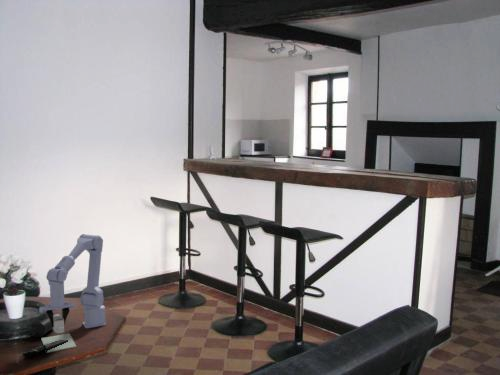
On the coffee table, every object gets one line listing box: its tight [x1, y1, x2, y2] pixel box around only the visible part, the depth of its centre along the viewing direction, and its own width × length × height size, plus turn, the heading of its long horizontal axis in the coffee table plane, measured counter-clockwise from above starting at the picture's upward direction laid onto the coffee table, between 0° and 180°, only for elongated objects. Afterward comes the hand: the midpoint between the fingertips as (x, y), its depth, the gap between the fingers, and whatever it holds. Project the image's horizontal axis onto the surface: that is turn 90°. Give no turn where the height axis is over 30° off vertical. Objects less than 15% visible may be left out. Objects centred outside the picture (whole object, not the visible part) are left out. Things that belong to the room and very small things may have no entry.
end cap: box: [31, 316, 53, 338], centre depth 233 cm, size 10×7×7 cm
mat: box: [40, 333, 77, 353], centre depth 222 cm, size 12×16×1 cm
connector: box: [52, 313, 65, 334], centre depth 220 cm, size 4×13×5 cm, turn 30°
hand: (58, 325), depth 221 cm, fingers closed on connector, 4 cm apart
